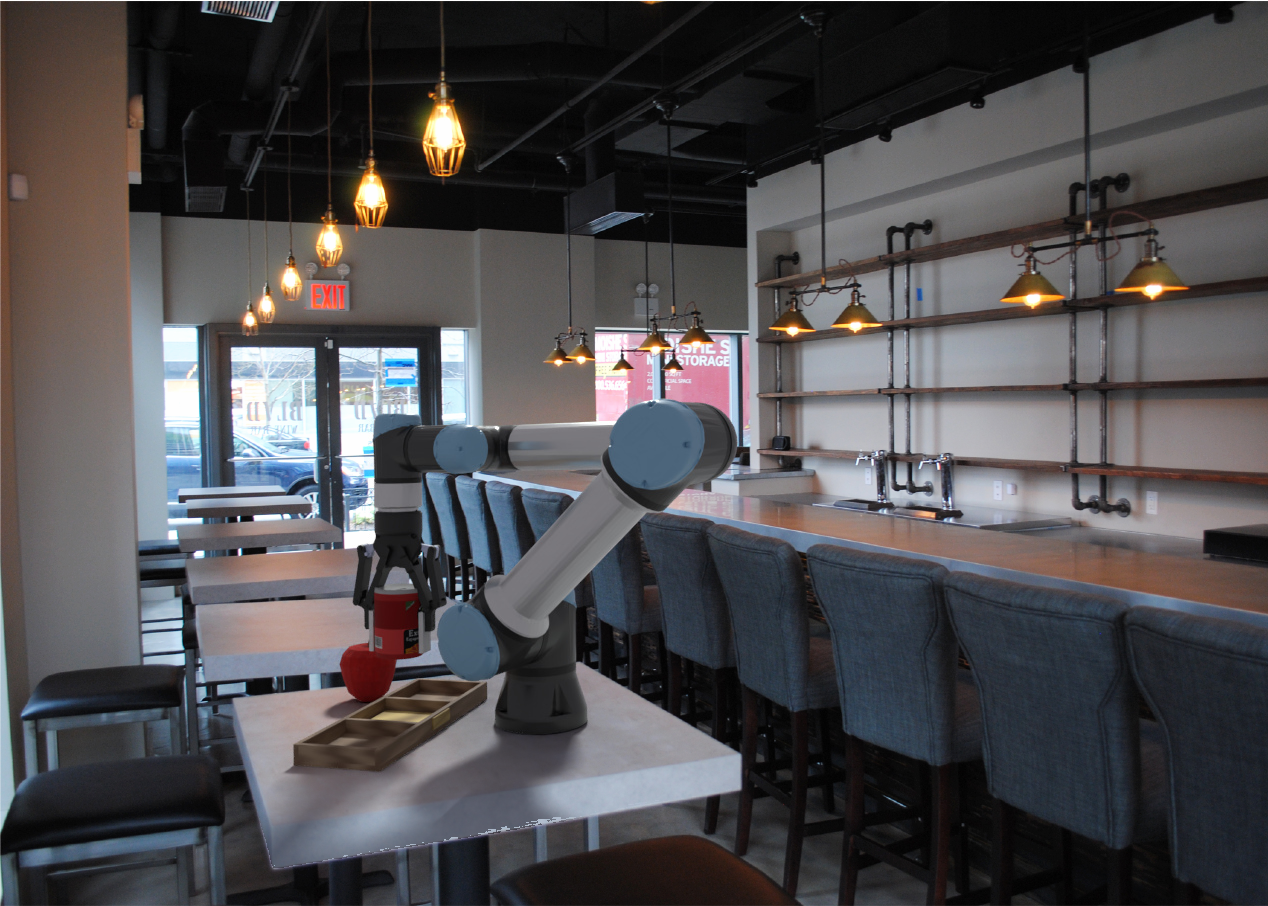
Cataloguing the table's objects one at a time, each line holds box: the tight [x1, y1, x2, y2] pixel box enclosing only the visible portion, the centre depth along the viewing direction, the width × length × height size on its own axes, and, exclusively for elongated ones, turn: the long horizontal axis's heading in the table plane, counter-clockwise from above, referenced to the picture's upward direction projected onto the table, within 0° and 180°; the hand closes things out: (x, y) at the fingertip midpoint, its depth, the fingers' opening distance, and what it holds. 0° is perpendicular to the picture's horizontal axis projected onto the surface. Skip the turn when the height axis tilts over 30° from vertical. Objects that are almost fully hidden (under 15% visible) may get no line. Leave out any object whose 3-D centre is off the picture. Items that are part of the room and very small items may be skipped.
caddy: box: [292, 677, 488, 773], centre depth 154 cm, size 14×39×3 cm, turn 167°
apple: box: [339, 640, 398, 703], centre depth 172 cm, size 10×10×11 cm
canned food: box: [374, 582, 423, 661], centre depth 154 cm, size 8×8×11 cm
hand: (400, 650), depth 154 cm, fingers closed on canned food, 8 cm apart
